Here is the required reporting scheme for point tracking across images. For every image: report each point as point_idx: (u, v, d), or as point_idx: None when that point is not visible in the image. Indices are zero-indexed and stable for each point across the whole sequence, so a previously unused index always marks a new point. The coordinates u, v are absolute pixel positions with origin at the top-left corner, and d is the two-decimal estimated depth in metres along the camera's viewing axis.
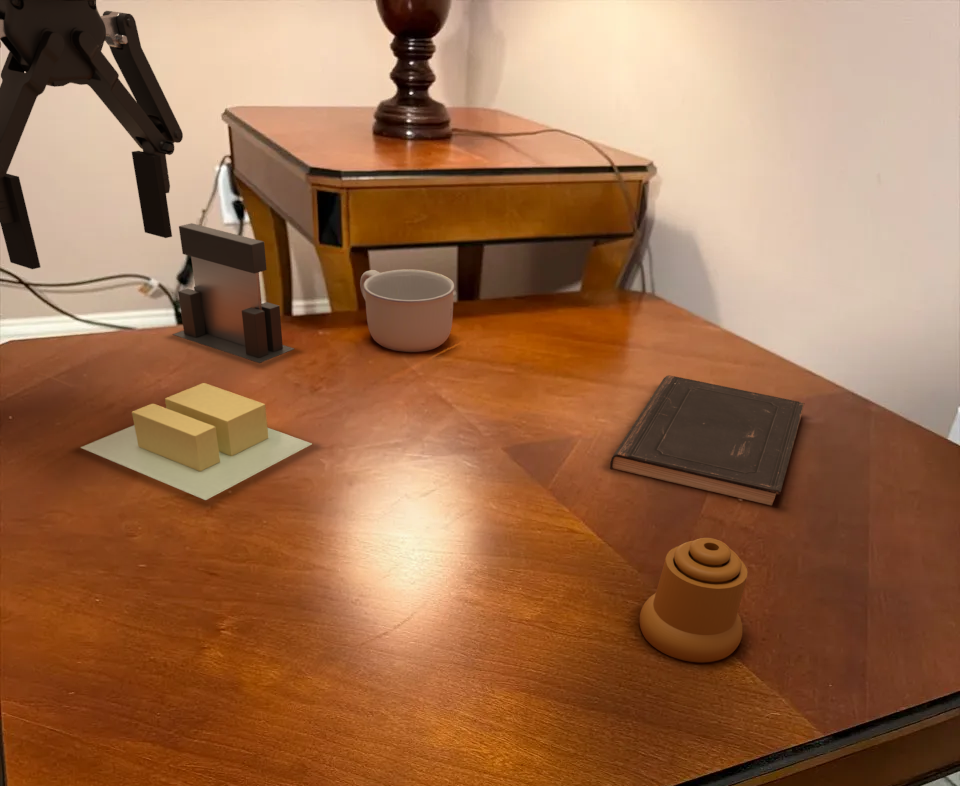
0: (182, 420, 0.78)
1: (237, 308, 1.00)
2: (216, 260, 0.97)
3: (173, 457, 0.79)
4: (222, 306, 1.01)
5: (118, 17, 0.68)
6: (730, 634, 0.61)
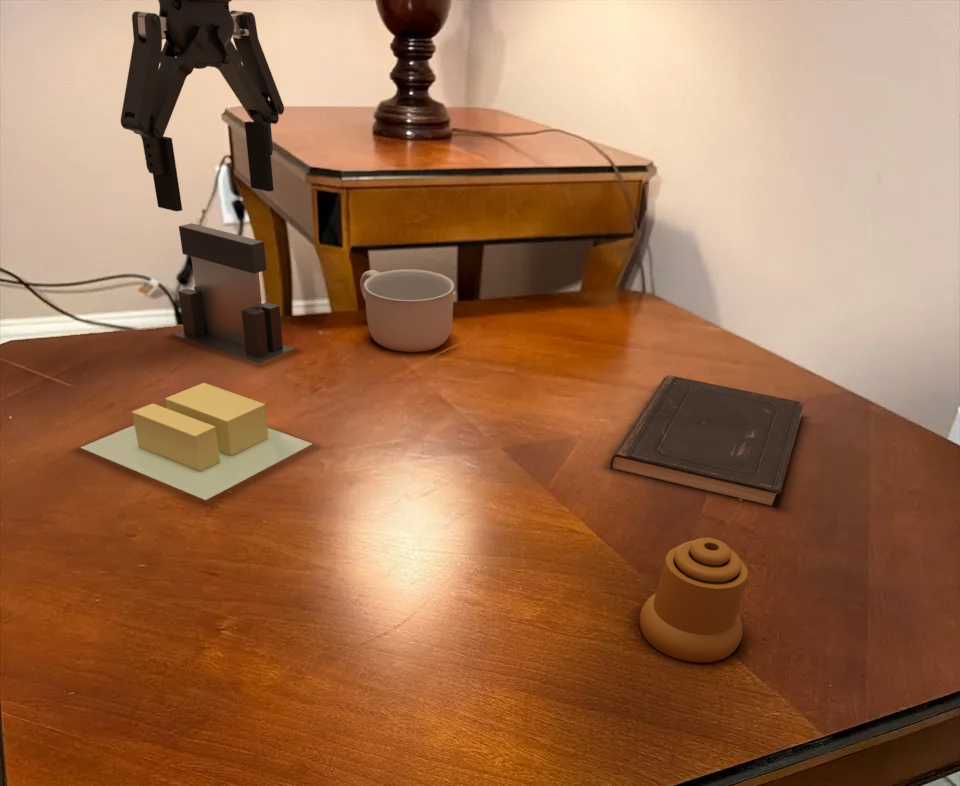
0: (182, 420, 0.78)
1: (237, 308, 1.00)
2: (216, 260, 0.97)
3: (173, 457, 0.79)
4: (222, 306, 1.01)
5: (242, 15, 0.88)
6: (730, 634, 0.61)
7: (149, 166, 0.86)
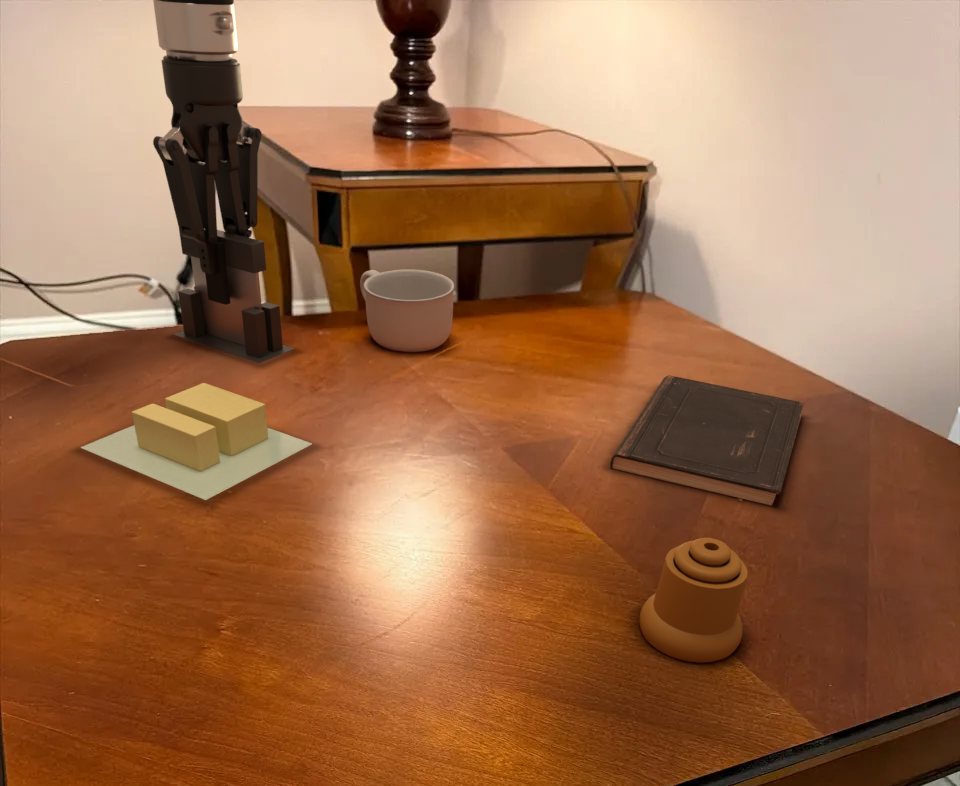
0: (182, 420, 0.78)
1: (237, 308, 1.00)
2: None
3: (173, 457, 0.79)
4: (222, 306, 1.01)
5: (251, 129, 0.94)
6: (730, 634, 0.61)
7: (203, 267, 0.96)
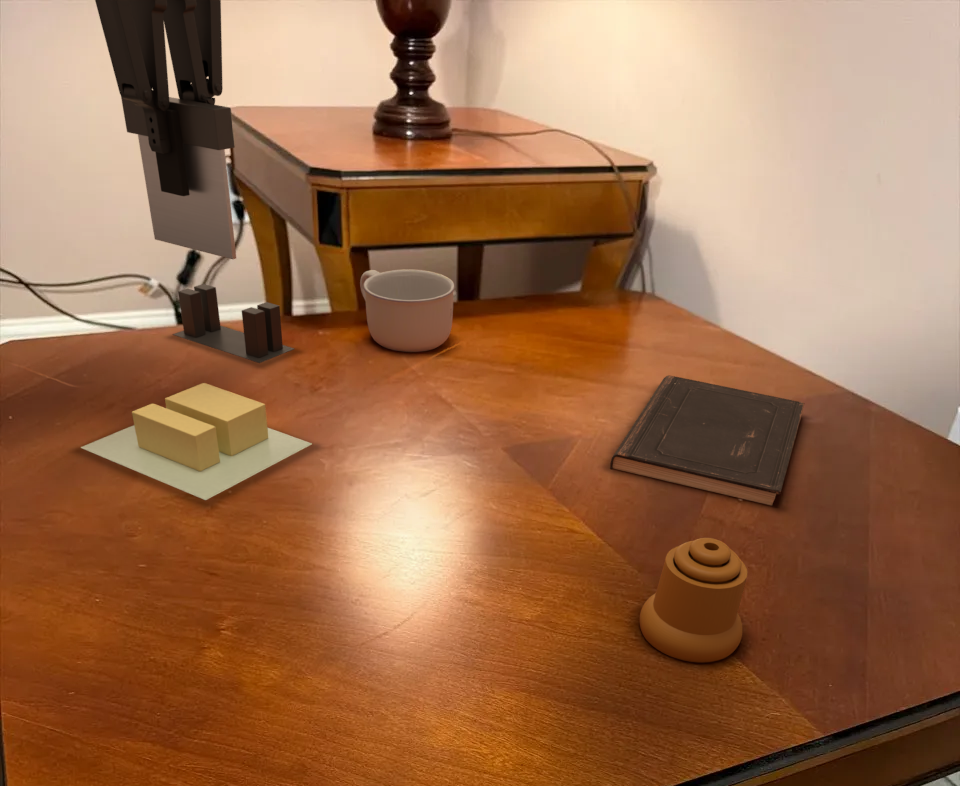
0: (182, 420, 0.78)
1: (198, 202, 0.78)
2: None
3: (173, 457, 0.79)
4: (179, 201, 0.79)
5: None
6: (730, 634, 0.61)
7: (152, 143, 0.74)
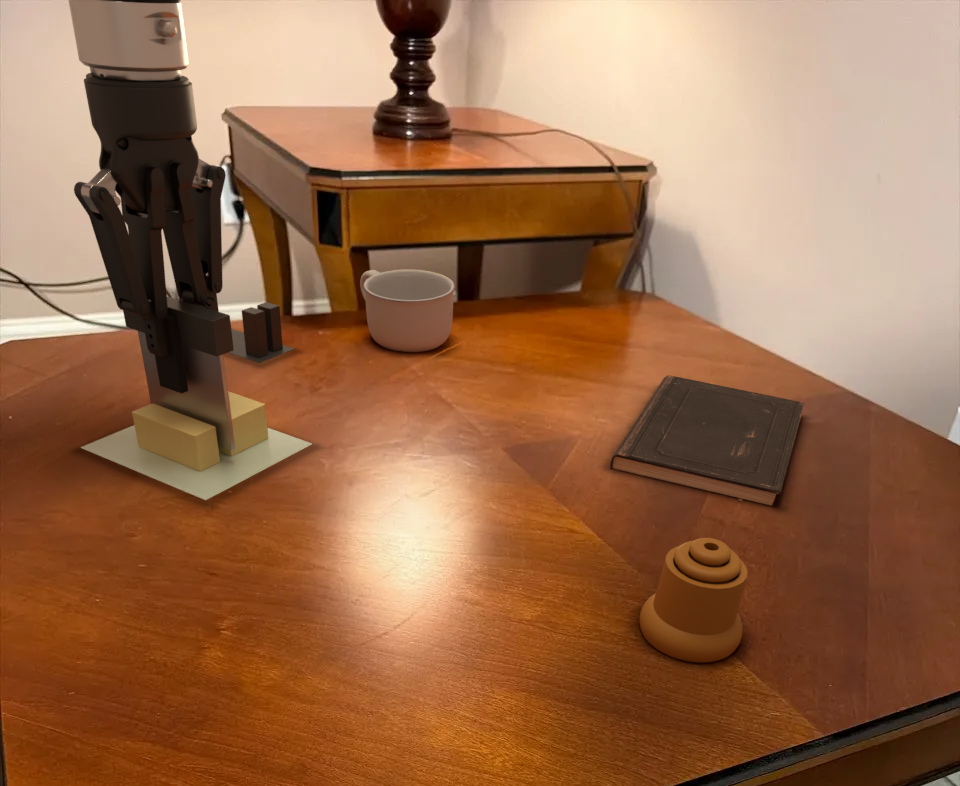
0: (182, 420, 0.78)
1: (197, 396, 0.77)
2: None
3: (173, 457, 0.79)
4: None
5: (211, 167, 0.71)
6: (730, 634, 0.61)
7: (150, 347, 0.73)
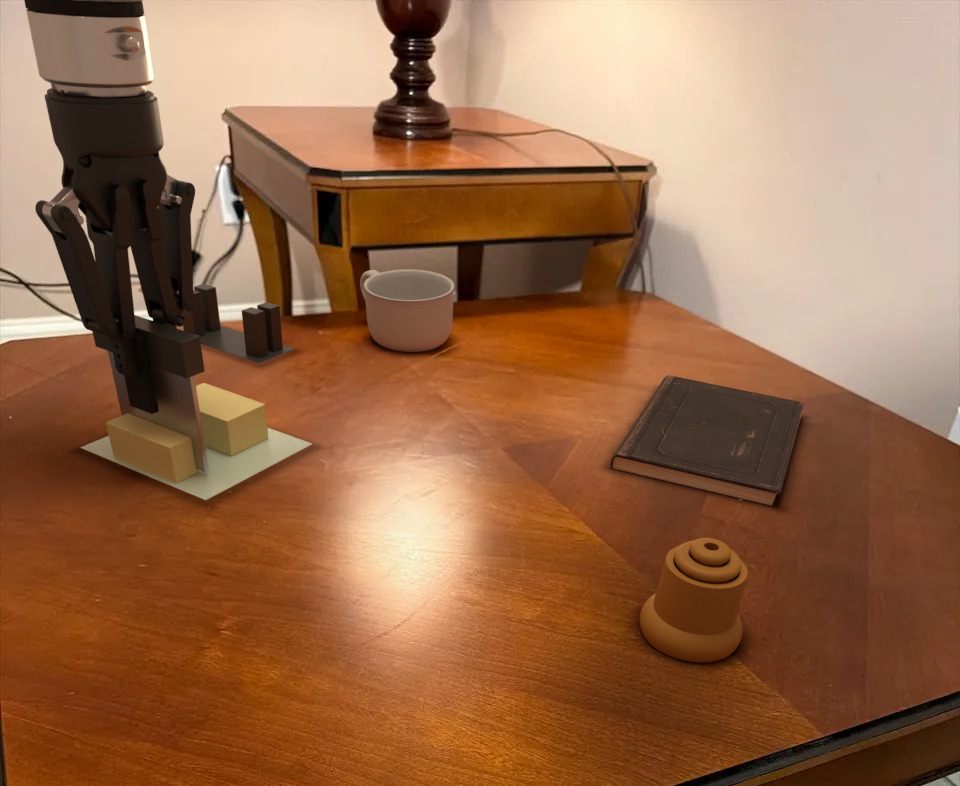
0: (157, 431, 0.76)
1: (169, 417, 0.76)
2: None
3: (149, 469, 0.77)
4: None
5: (180, 183, 0.69)
6: (730, 634, 0.61)
7: (118, 367, 0.72)
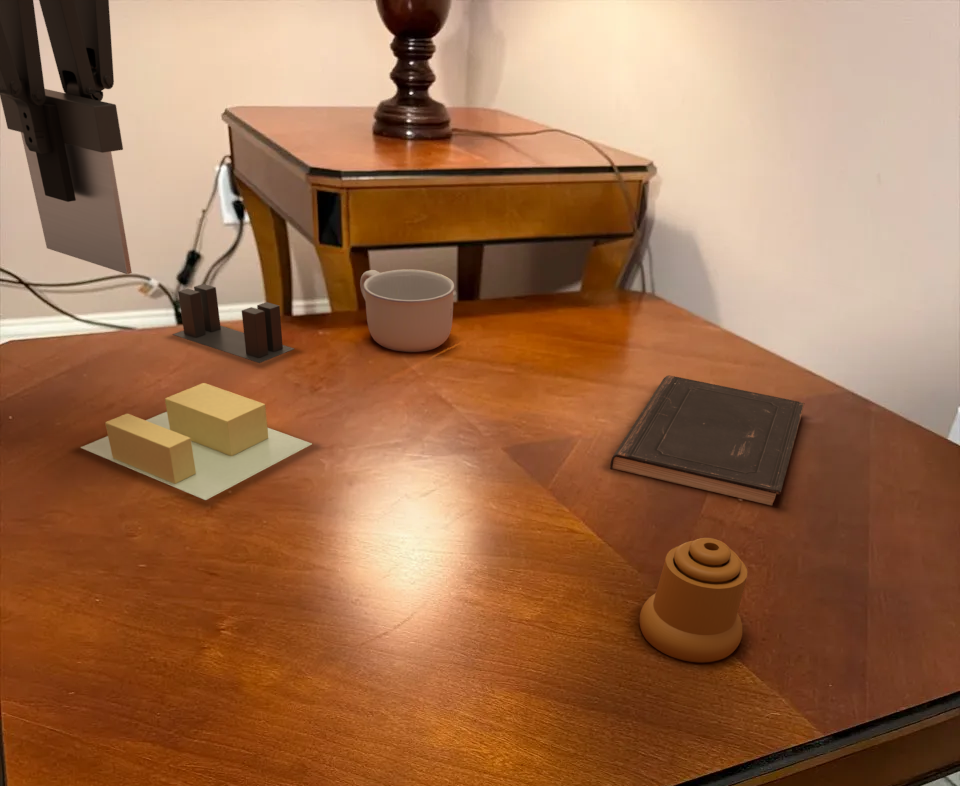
0: (157, 431, 0.76)
1: (88, 210, 0.70)
2: None
3: (147, 469, 0.77)
4: (68, 208, 0.71)
5: None
6: (730, 634, 0.61)
7: (28, 142, 0.66)
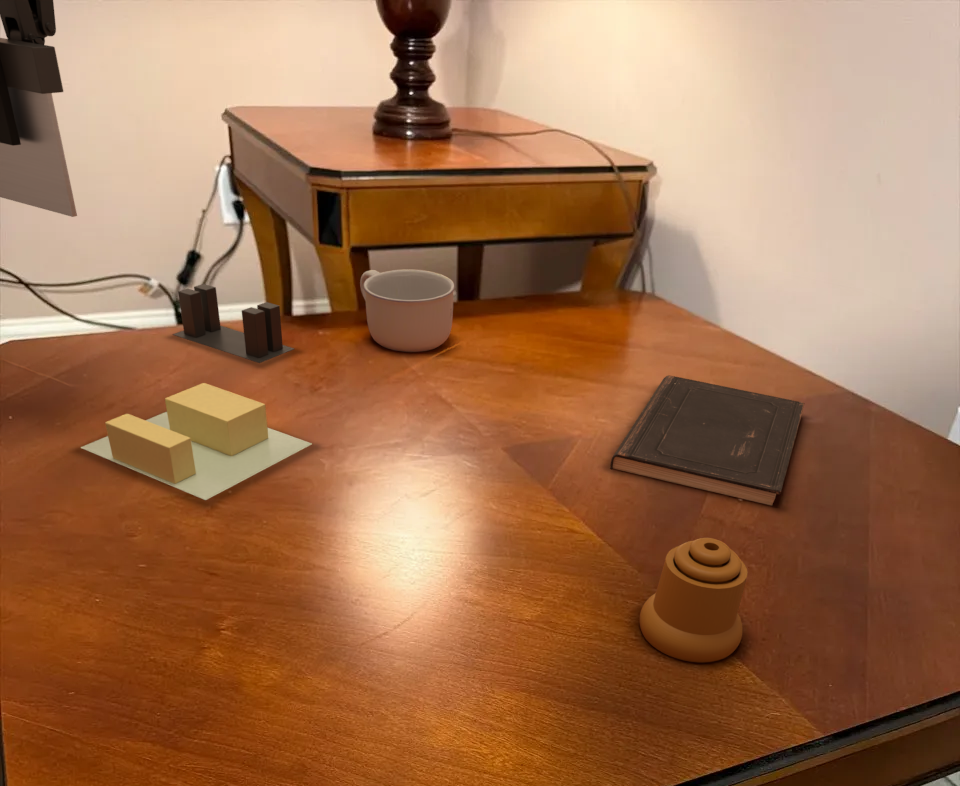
0: (157, 431, 0.76)
1: (33, 154, 0.72)
2: None
3: (147, 469, 0.77)
4: (15, 153, 0.73)
5: None
6: (730, 634, 0.61)
7: None
